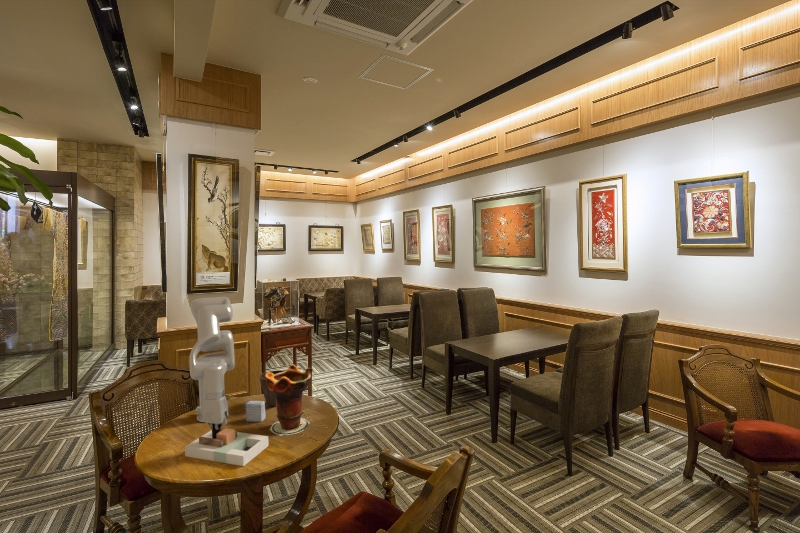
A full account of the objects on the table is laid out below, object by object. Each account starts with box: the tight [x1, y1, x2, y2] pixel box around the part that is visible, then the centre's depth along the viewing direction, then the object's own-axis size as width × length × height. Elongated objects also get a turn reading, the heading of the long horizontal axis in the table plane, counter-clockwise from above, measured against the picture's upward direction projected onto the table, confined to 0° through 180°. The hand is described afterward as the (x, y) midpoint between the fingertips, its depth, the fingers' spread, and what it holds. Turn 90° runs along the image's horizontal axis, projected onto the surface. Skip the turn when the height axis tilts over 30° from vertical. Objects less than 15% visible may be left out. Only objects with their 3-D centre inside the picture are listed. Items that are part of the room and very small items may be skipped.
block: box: [216, 427, 235, 445], centre depth 163 cm, size 5×5×4 cm
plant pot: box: [259, 369, 285, 408], centre depth 210 cm, size 15×15×16 cm
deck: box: [184, 429, 270, 467], centre depth 163 cm, size 28×16×4 cm, turn 74°
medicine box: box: [245, 400, 267, 422], centre depth 191 cm, size 8×4×9 cm, turn 84°
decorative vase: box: [265, 364, 313, 437], centre depth 184 cm, size 21×23×28 cm
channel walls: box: [198, 427, 238, 447], centre depth 164 cm, size 11×9×2 cm
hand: (216, 437), depth 164 cm, fingers closed
